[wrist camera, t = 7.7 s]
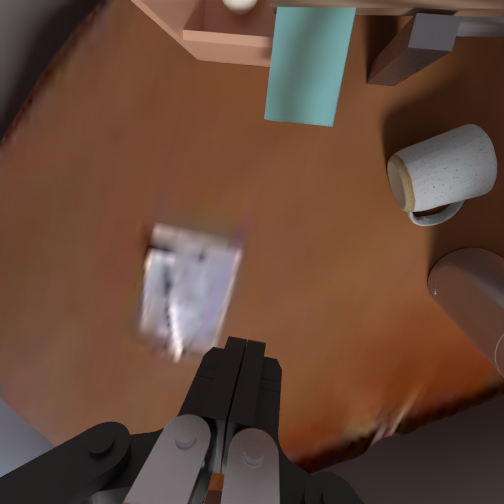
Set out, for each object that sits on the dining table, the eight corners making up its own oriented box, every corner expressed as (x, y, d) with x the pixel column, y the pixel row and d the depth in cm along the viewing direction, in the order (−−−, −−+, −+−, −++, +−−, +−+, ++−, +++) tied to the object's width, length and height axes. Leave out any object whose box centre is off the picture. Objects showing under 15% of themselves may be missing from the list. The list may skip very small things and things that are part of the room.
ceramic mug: (378, 153, 34) (400, 156, 27) (452, 124, 32) (497, 120, 25) (398, 231, 37) (422, 253, 30) (466, 209, 35) (510, 227, 28)
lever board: (555, -73, 22) (709, -235, 13) (472, 146, 28) (536, 143, 19) (302, -61, 26) (281, -173, 17) (277, 125, 32) (252, 115, 23)
